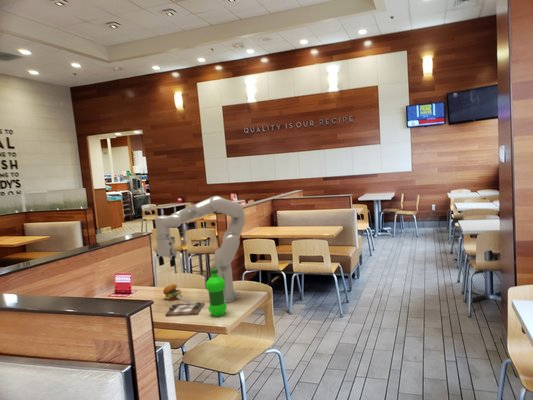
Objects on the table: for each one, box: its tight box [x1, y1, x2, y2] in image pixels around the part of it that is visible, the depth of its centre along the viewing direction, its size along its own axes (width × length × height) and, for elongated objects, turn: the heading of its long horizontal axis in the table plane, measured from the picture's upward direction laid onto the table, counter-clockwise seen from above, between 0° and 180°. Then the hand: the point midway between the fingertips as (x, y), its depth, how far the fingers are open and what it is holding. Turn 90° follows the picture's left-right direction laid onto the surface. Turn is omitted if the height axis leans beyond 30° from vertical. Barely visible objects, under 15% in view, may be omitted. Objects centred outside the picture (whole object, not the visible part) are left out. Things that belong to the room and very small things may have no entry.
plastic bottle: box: [205, 268, 228, 317], centre depth 211 cm, size 10×10×25 cm
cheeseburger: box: [163, 283, 183, 301], centre depth 246 cm, size 10×11×10 cm
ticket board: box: [164, 301, 205, 318], centre depth 222 cm, size 18×16×3 cm
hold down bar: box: [174, 294, 197, 307], centre depth 222 cm, size 15×2×1 cm, turn 85°
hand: (167, 265), depth 227 cm, fingers open, 9 cm apart
